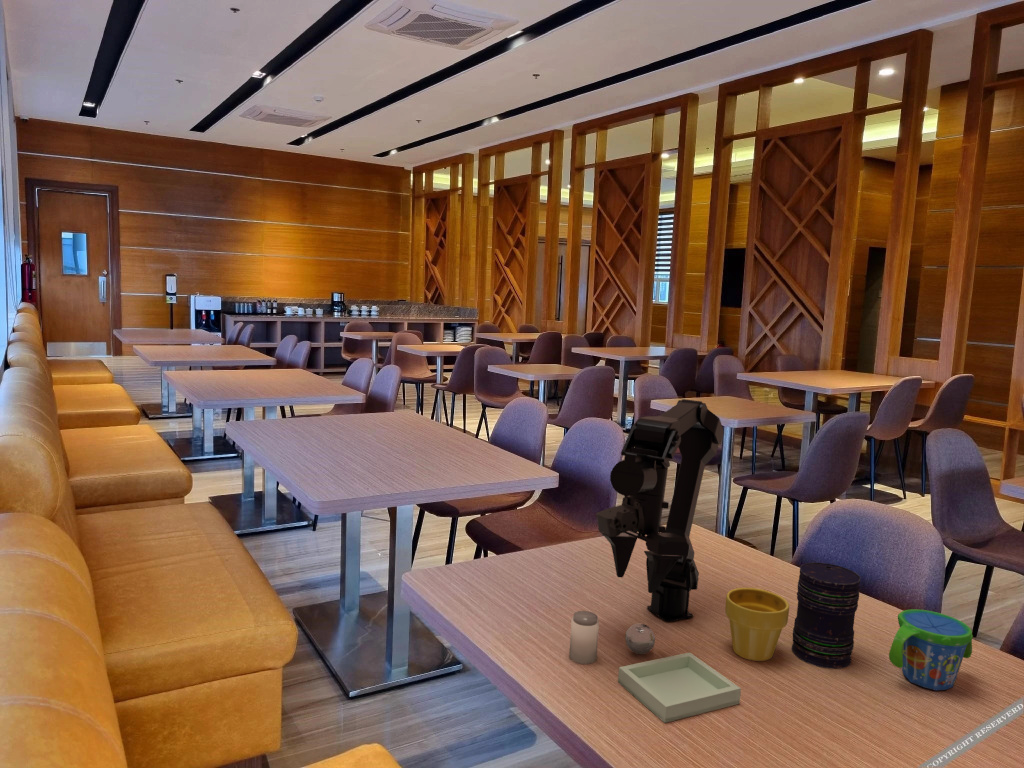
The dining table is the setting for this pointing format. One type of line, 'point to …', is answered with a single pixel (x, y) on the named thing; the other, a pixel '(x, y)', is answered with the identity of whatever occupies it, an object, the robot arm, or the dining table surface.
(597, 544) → the dining table surface
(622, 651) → the dining table surface
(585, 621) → the shaker
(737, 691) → the tray
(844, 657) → the storage jar
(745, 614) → the plant pot
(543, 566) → the dining table surface
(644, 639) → the ball
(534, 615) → the dining table surface
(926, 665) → the snack cup
